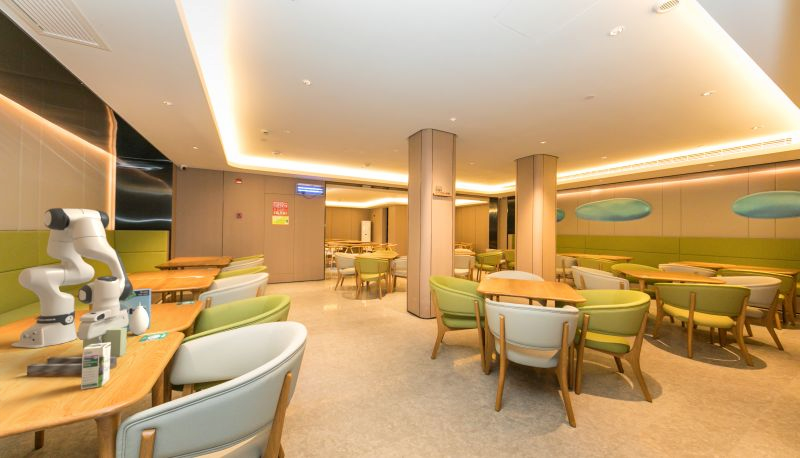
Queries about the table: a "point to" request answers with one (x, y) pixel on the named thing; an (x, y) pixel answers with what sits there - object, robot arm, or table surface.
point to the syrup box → (95, 365)
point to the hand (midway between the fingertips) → (104, 342)
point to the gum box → (137, 303)
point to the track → (61, 367)
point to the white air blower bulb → (139, 321)
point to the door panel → (112, 341)
